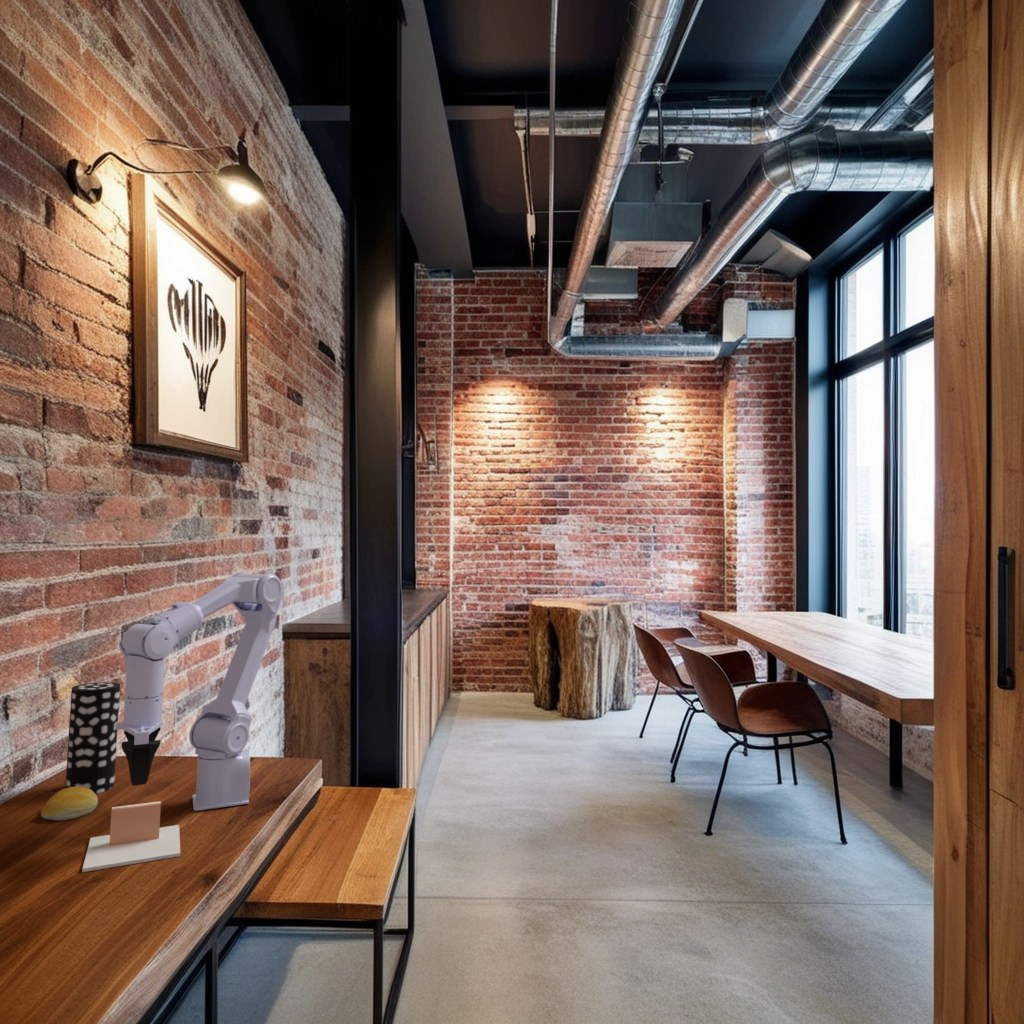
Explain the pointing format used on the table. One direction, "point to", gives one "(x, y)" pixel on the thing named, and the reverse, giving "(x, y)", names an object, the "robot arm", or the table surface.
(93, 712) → the spotted tube
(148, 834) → the tile
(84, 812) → the bread roll
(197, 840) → the table surface
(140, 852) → the mat
